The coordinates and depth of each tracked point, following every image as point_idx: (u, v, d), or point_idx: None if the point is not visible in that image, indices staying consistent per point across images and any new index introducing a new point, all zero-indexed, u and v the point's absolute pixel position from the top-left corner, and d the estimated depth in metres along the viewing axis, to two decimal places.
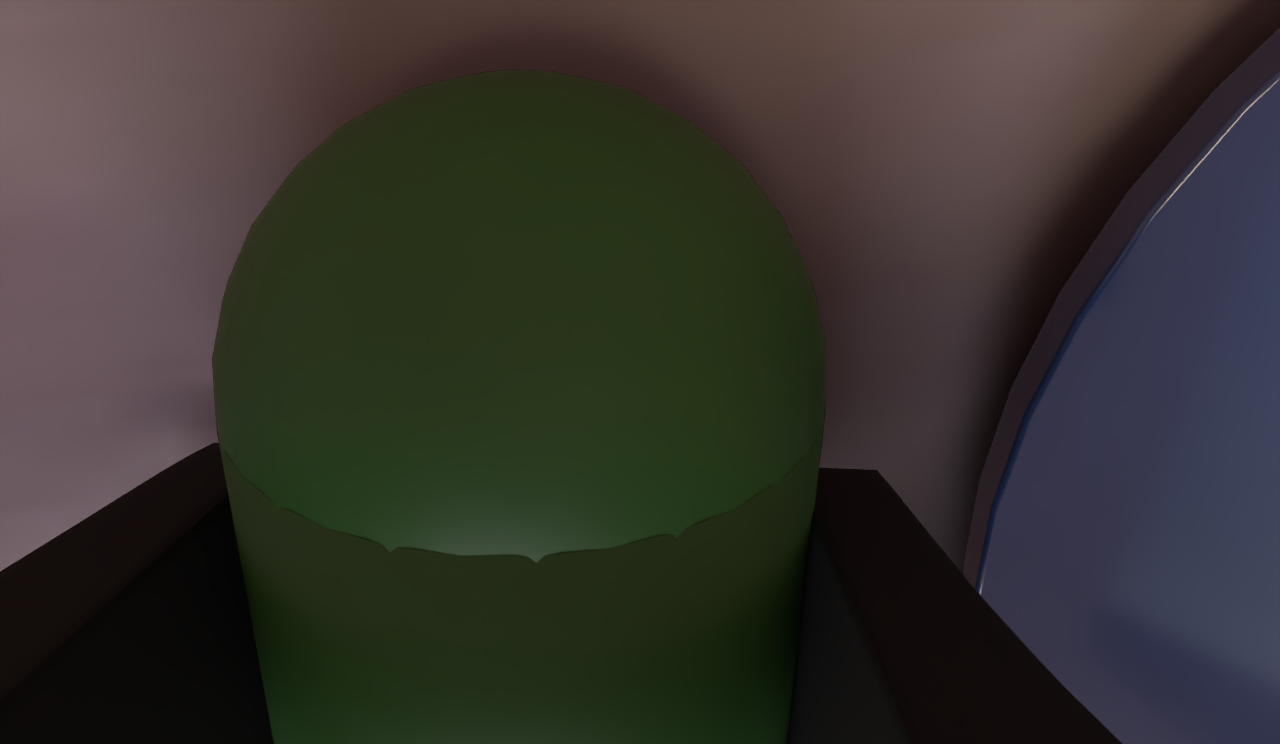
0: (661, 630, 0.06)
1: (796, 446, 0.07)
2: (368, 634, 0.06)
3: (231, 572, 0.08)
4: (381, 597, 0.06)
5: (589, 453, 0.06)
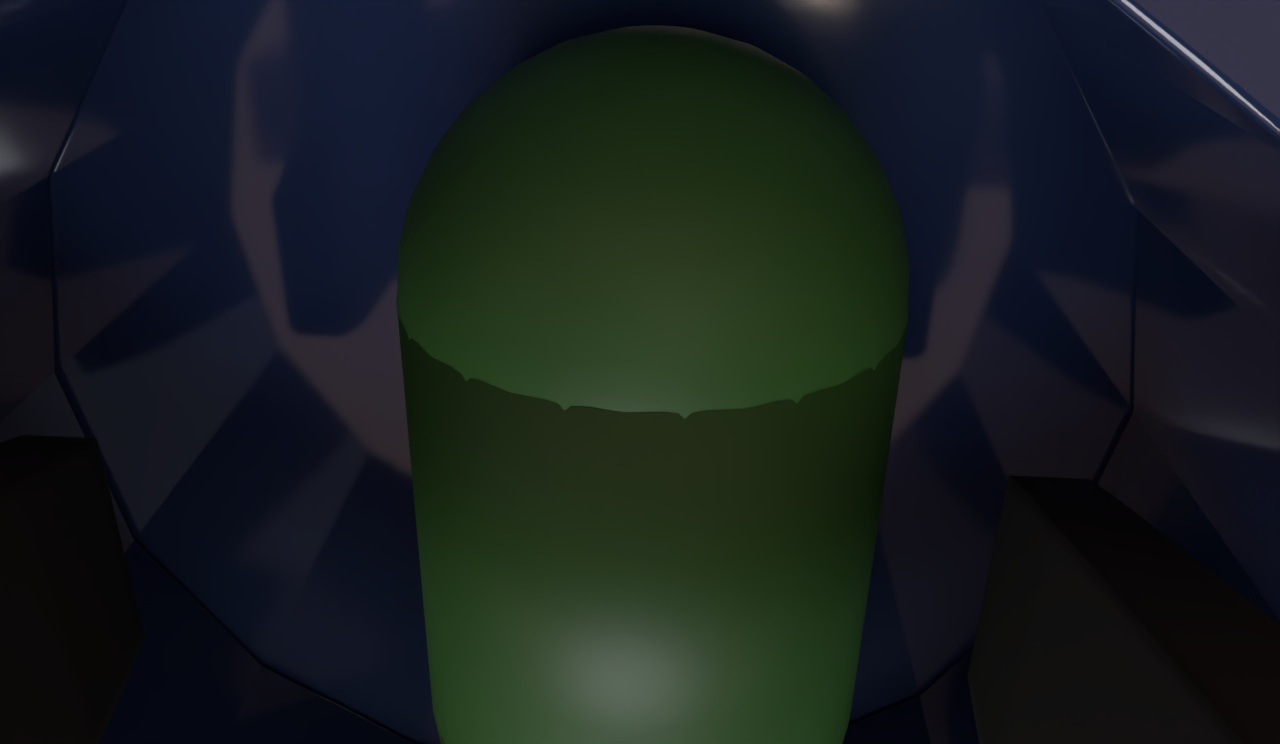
0: (858, 450, 0.08)
1: None
2: (651, 499, 0.07)
3: (15, 563, 0.08)
4: (670, 460, 0.07)
5: (830, 308, 0.07)
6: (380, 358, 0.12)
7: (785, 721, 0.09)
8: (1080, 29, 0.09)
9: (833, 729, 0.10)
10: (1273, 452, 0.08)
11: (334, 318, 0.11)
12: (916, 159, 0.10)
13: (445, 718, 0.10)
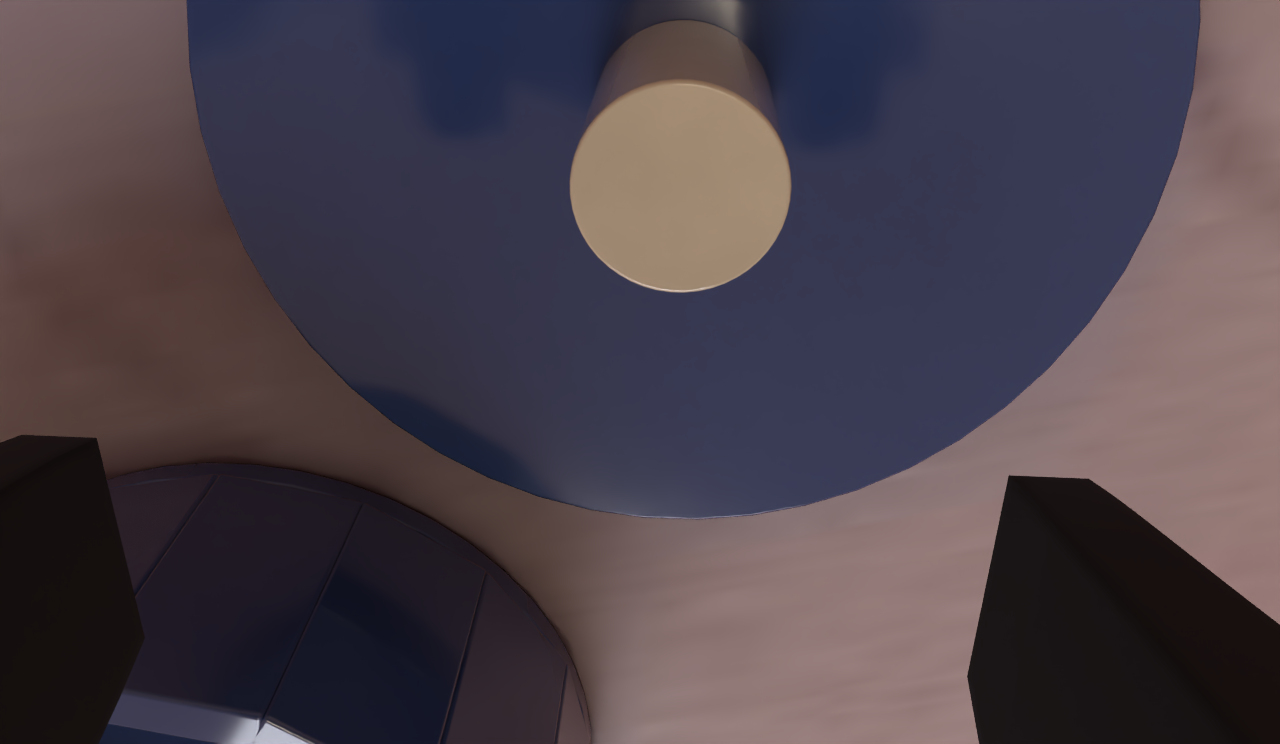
0: None
1: None
2: None
3: (14, 563, 0.08)
4: None
5: None
6: None
7: None
8: None
9: None
10: None
11: None
12: None
13: None
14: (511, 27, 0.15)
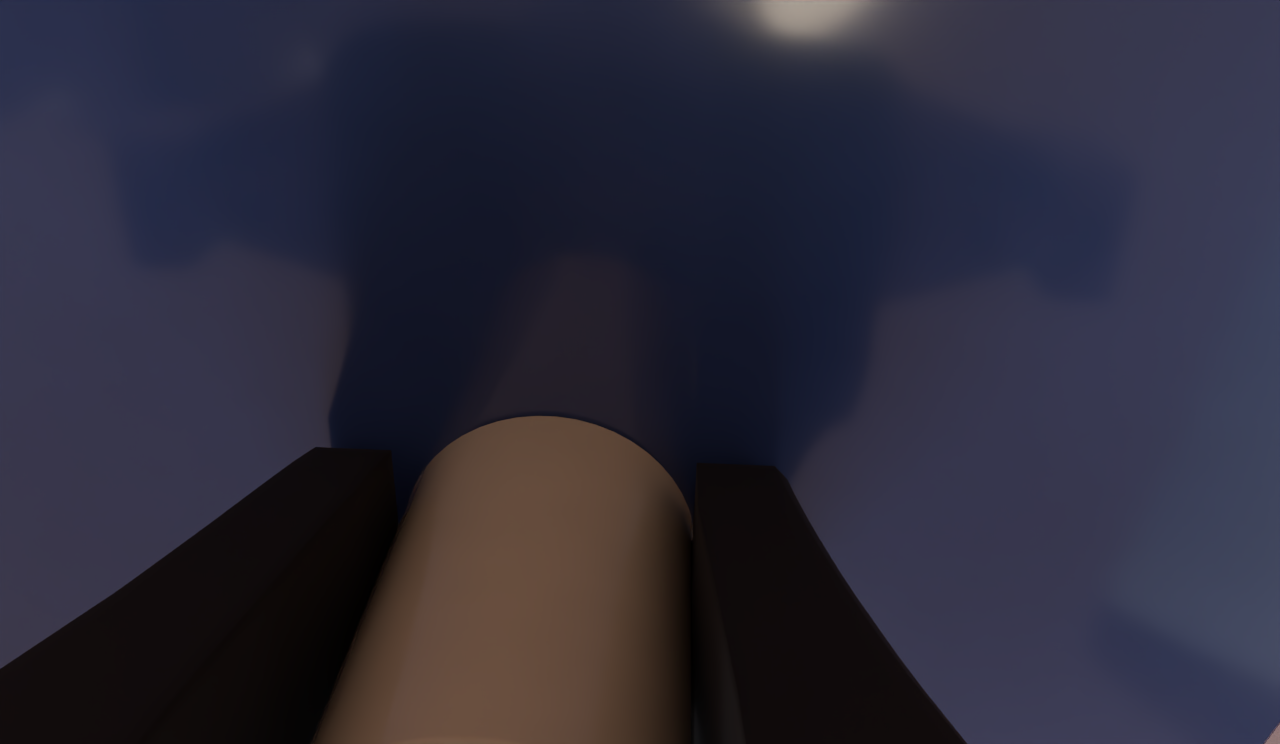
0: None
1: None
2: None
3: (346, 577, 0.08)
4: None
5: None
6: None
7: None
8: None
9: None
10: None
11: None
12: None
13: None
14: (262, 418, 0.09)
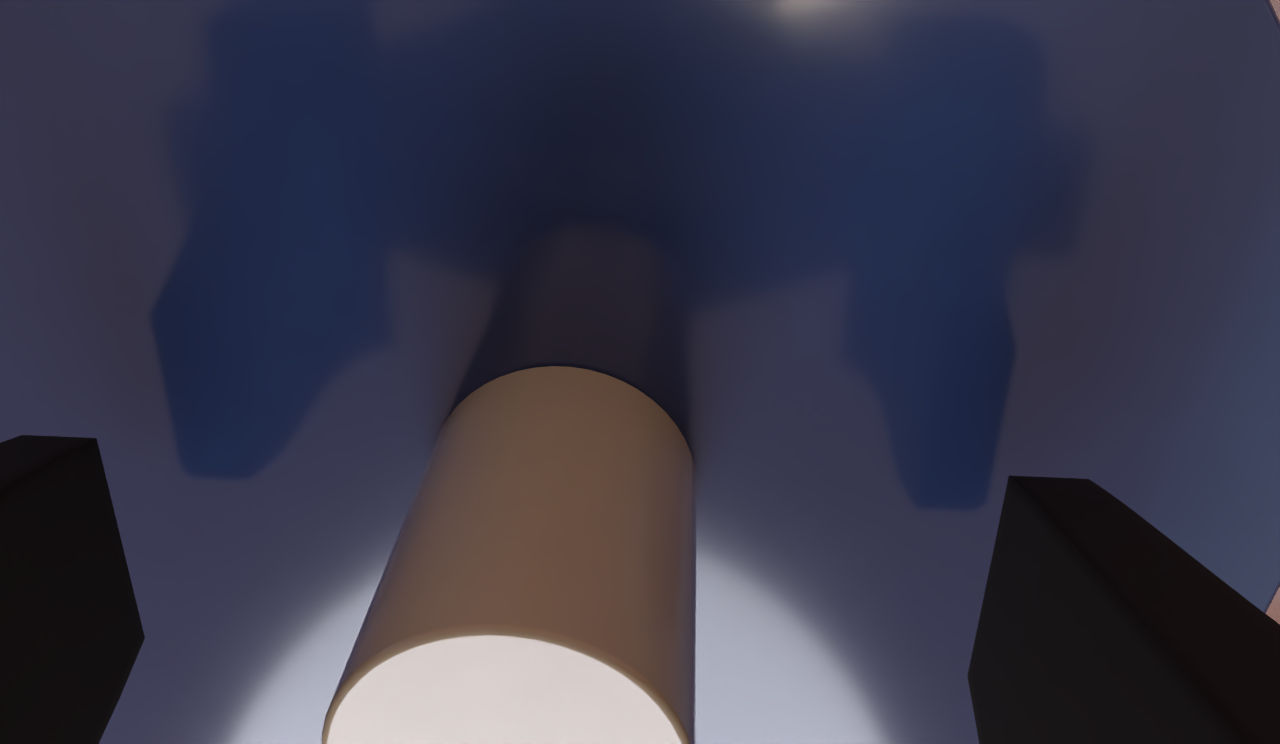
0: None
1: None
2: None
3: (15, 563, 0.08)
4: None
5: None
6: None
7: None
8: None
9: None
10: None
11: None
12: None
13: None
14: (300, 369, 0.10)
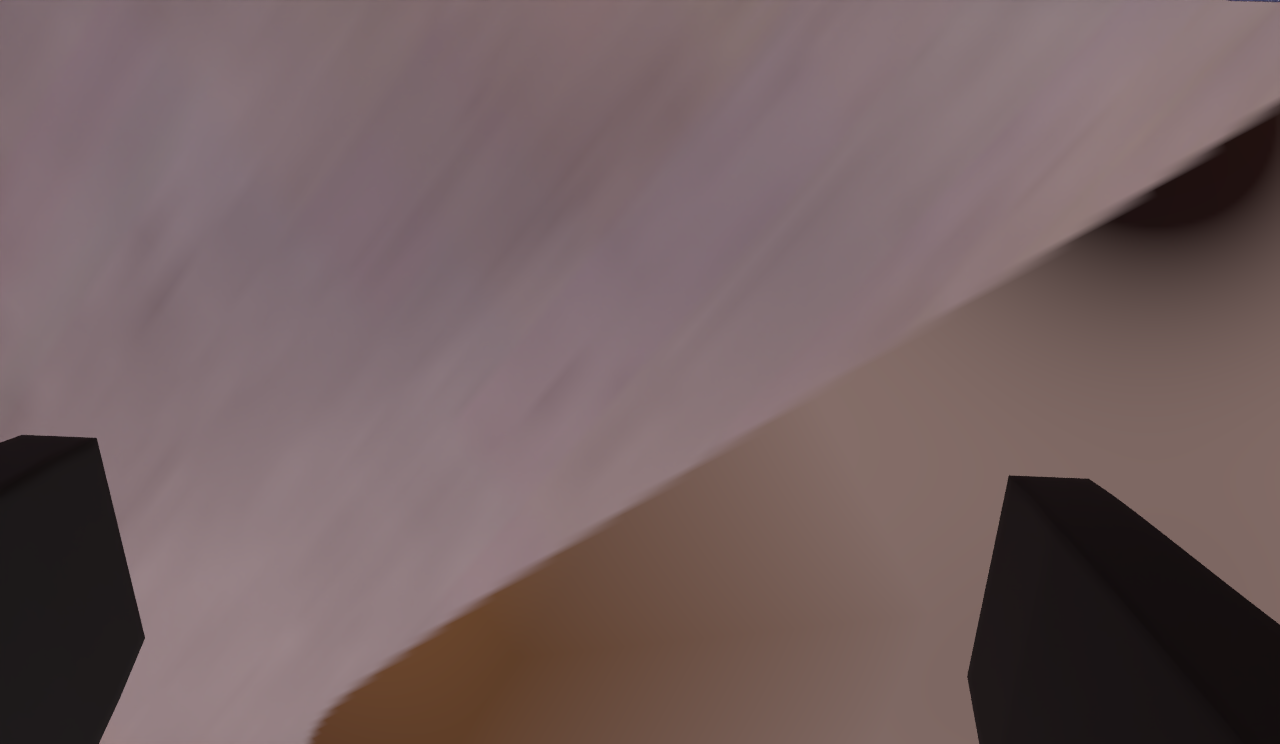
0: None
1: None
2: None
3: (14, 563, 0.08)
4: None
5: None
6: None
7: None
8: None
9: None
10: None
11: None
12: None
13: None
14: None
